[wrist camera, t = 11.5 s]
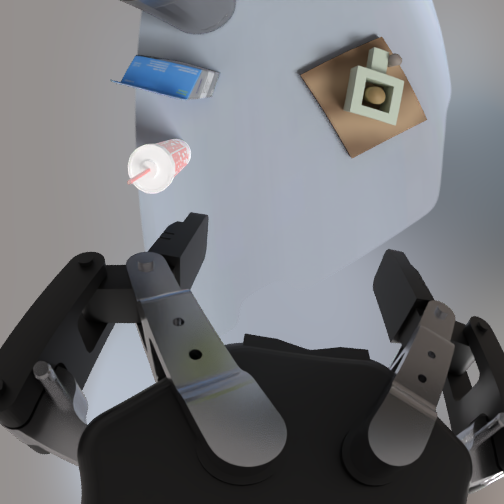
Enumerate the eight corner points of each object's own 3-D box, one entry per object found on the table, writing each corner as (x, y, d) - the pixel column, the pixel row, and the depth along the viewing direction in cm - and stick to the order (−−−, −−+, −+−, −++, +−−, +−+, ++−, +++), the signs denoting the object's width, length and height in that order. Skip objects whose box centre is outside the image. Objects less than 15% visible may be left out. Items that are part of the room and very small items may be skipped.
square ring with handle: (385, 122, 32) (395, 125, 28) (343, 110, 32) (349, 111, 28) (396, 59, 27) (408, 56, 23) (354, 45, 27) (362, 40, 24)
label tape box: (221, 73, 32) (193, 63, 21) (211, 100, 34) (179, 101, 24) (164, 58, 31) (118, 48, 21) (155, 84, 33) (107, 83, 23)
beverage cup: (149, 148, 38) (96, 174, 26) (181, 125, 36) (133, 141, 24) (171, 181, 41) (126, 219, 29) (204, 160, 39) (166, 192, 27)
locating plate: (300, 75, 31) (302, 72, 27) (379, 38, 26) (390, 31, 22) (350, 156, 36) (358, 164, 32) (424, 119, 31) (438, 122, 27)
